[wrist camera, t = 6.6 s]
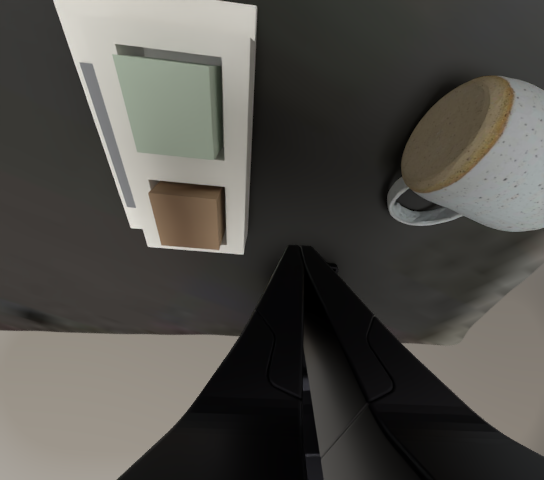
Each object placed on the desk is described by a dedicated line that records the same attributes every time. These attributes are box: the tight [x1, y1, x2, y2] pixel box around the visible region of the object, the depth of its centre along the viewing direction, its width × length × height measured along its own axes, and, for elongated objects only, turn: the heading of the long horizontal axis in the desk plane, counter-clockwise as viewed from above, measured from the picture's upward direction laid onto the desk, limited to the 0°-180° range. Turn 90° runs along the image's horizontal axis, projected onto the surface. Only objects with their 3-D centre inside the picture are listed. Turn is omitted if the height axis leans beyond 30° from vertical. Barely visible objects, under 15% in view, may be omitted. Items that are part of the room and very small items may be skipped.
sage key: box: [112, 54, 223, 160], centre depth 13 cm, size 4×4×3 cm
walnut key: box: [148, 181, 226, 250], centre depth 17 cm, size 4×4×3 cm
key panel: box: [53, 0, 258, 255], centre depth 16 cm, size 11×16×4 cm
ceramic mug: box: [387, 76, 544, 232], centre depth 16 cm, size 11×8×8 cm
